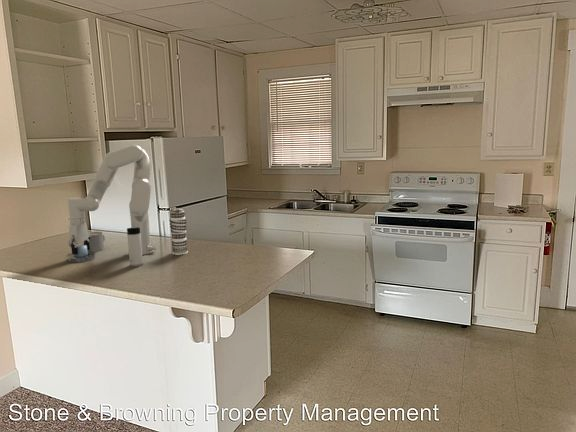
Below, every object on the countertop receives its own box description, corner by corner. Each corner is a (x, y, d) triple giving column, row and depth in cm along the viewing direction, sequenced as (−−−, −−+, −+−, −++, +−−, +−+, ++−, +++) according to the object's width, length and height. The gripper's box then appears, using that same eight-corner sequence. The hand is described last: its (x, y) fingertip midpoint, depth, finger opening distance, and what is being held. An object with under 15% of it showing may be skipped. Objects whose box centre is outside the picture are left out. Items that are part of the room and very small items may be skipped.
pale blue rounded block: (90, 257, 236) (89, 245, 235) (83, 260, 230) (81, 248, 229) (80, 257, 237) (79, 244, 236) (73, 260, 232) (72, 247, 230)
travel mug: (129, 267, 217) (126, 228, 213) (130, 264, 223) (127, 226, 219) (142, 266, 218) (139, 227, 215) (143, 262, 225) (140, 225, 221)
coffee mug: (93, 253, 245) (92, 235, 243) (81, 251, 249) (79, 234, 247) (112, 247, 257) (111, 230, 255) (100, 245, 261) (99, 229, 259)
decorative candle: (178, 256, 236) (175, 210, 231) (168, 253, 242) (165, 209, 237) (192, 252, 243) (189, 208, 238) (181, 249, 249) (178, 206, 244)
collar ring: (100, 256, 239) (99, 252, 238) (84, 262, 226) (84, 259, 226) (79, 255, 241) (79, 251, 241) (63, 261, 229) (62, 258, 228)
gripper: (82, 217, 239) (85, 247, 242) (60, 224, 222) (63, 256, 226) (94, 217, 237) (97, 248, 241) (72, 224, 221) (76, 256, 224)
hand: (81, 252), depth 233 cm, fingers open, 9 cm apart
